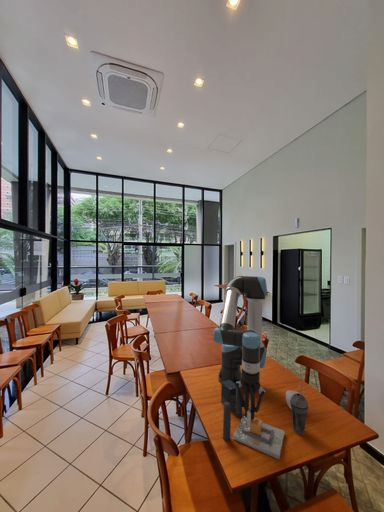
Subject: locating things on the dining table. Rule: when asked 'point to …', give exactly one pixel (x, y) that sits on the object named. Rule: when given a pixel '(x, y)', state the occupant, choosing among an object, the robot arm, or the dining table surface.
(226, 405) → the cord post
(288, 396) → the cup
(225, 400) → the box
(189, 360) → the dining table surface
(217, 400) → the dining table surface
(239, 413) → the cord post
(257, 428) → the block
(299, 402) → the beverage cup
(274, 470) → the dining table surface
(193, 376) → the dining table surface
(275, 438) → the breaker panel
